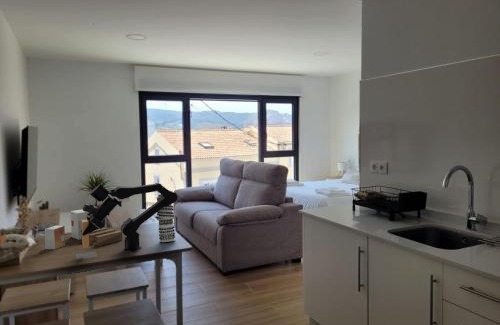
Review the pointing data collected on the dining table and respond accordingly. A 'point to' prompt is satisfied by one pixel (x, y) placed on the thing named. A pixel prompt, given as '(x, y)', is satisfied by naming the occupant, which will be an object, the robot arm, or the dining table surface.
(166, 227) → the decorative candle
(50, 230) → the small box
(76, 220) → the supplement box
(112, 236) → the rack
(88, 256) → the mat
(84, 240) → the rectangular block
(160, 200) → the robot arm
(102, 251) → the dining table surface
